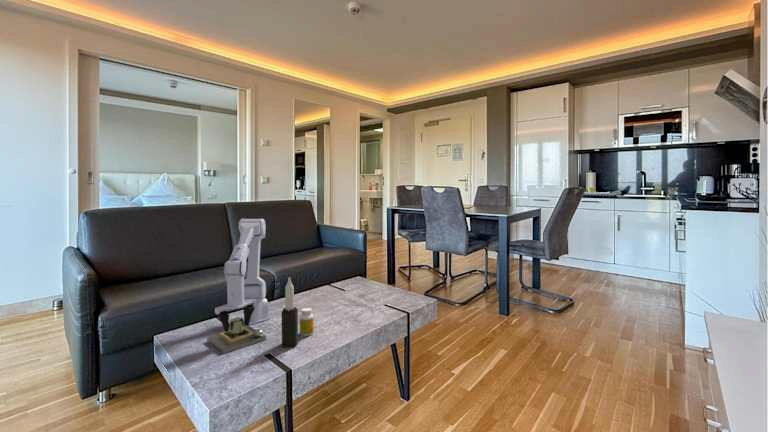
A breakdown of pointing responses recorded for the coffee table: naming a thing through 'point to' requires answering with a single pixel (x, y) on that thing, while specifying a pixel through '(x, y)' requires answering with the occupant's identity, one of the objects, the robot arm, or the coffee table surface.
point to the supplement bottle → (306, 322)
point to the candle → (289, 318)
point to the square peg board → (236, 340)
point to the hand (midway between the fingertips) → (236, 327)
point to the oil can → (236, 327)
